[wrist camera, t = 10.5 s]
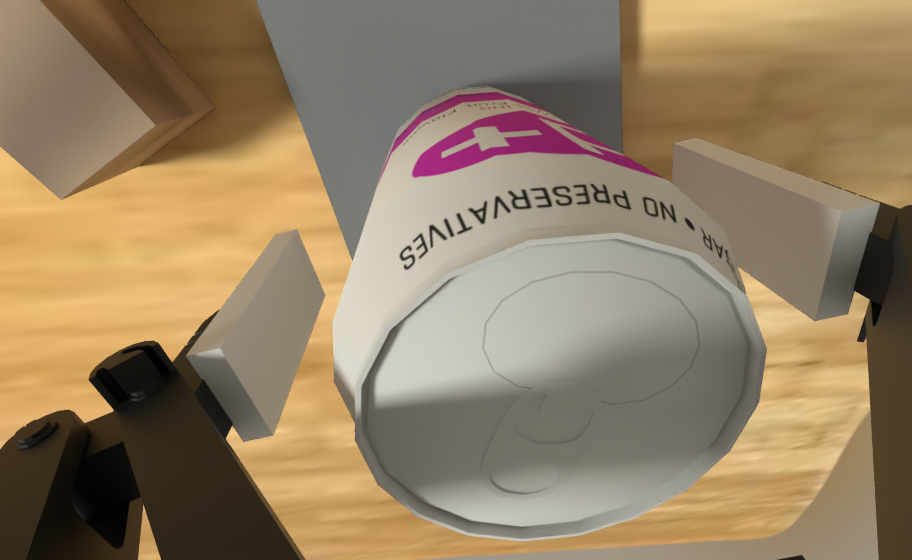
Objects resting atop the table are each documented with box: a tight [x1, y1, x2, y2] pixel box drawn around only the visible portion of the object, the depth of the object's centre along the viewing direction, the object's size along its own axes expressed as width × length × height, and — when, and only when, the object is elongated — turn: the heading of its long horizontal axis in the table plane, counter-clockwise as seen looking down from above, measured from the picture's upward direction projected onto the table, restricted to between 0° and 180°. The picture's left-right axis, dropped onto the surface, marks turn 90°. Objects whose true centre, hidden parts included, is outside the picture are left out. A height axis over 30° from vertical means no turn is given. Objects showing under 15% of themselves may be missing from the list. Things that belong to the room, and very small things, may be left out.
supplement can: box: [333, 86, 767, 541], centre depth 14 cm, size 8×8×15 cm
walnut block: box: [0, 0, 215, 200], centre depth 17 cm, size 5×5×5 cm
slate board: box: [256, 0, 623, 261], centre depth 21 cm, size 18×14×1 cm
